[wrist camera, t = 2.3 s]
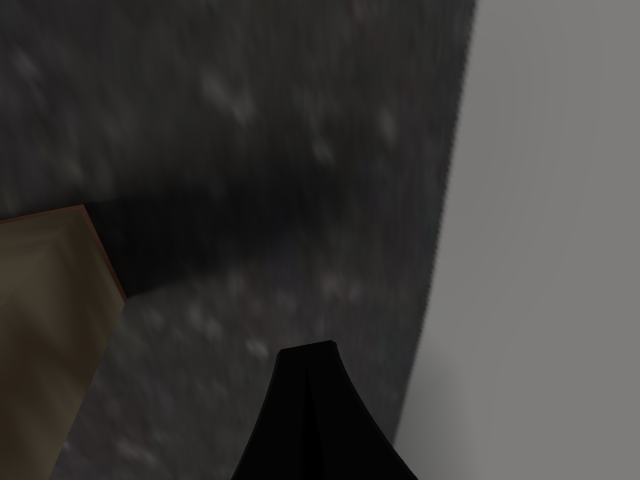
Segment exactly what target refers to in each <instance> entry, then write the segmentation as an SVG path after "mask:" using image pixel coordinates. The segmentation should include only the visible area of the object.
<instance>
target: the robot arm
mask: <svg viewBox="0 0 640 480" xmlns="http://www.w3.org/2000/svg"><path fill="white" fill-rule="evenodd" d="M231 480H418V479H417V477H416V476H415V475H414V474H413V473H412V471H411V470H410V469H409V468H408V467H407V465H406V464H405V463H404V461H403V460H402V459H401V458H400V456H399V455H398V454H397V452H396V451H395V450H394V448H393V447H392V445H391V444H390V443H389V441H388V440H387V439H386V437H385V436H384V434H383V433H382V431H381V430H380V428H379V427H378V425H377V424H376V422H375V421H374V419H373V418H372V416H371V415H370V413H369V412H368V410H367V408H366V407H365V405H364V403H363V402H362V400H361V398H360V396H359V395H358V393H357V391H356V390H355V388H354V386H353V384H352V382H351V380H350V378H349V376H348V374H347V372H346V370H345V368H344V365H343V363H342V360H341V358H340V355H339V352H338V349H337V344H336V343H335V342H334V341H332V340H329V341H323V342H318V343H313V344H308V345H302V346H297V347H292V348H287V349H282V350H280V351H279V353H278V354H277V358H276V363H275V367H274V371H273V374H272V378H271V381H270V385H269V388H268V391H267V394H266V397H265V400H264V403H263V405H262V408H261V411H260V414H259V416H258V419H257V422H256V425H255V427H254V430H253V432H252V434H251V437H250V439H249V441H248V444H247V446H246V448H245V450H244V453H243V455H242V457H241V460H240V462H239V464H238V466H237V468H236V470H235V472H234V475H233V477H232V479H231Z"/></svg>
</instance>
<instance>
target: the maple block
mask: <svg viewBox="0 0 640 480" xmlns="http://www.w3.org/2000/svg"><path fill="white" fill-rule="evenodd" d="M126 300H127V297H126V294H125V292H124V290H123V288H122V286H121V284H120V282H119V280H118V277H117V275H116V273H115V271H114V269H113V267H112V265H111V262H110V260H109V258H108V256H107V254H106V252H105V250H104V247H103V245H102V243H101V241H100V239H99V237H98V235H97V232H96V230H95V228H94V226H93V224H92V222H91V220H90V217H89V215H88V213H87V211H86V209H85V207H84V205H83V204H81V205H76V206H71V207H66V208H60V209H55V210H50V211H45V212H40V213H35V214H30V215H25V216H20V217H14V218H9V219H4V220H0V480H48V478H49V476H50V474H51V472H52V469H53V467H54V465H55V462H56V460H57V458H58V456H59V453H60V451H61V449H62V446H63V444H64V442H65V440H66V437H67V435H68V433H69V430H70V428H71V426H72V424H73V421H74V419H75V417H76V415H77V412H78V410H79V408H80V405H81V403H82V401H83V399H84V396H85V394H86V392H87V389H88V387H89V385H90V383H91V380H92V378H93V376H94V373H95V371H96V369H97V367H98V364H99V362H100V360H101V358H102V355H103V353H104V351H105V348H106V346H107V344H108V342H109V339H110V337H111V335H112V332H113V330H114V328H115V326H116V323H117V321H118V319H119V316H120V314H121V312H122V310H123V307H124V305H125V303H126Z"/></svg>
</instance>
